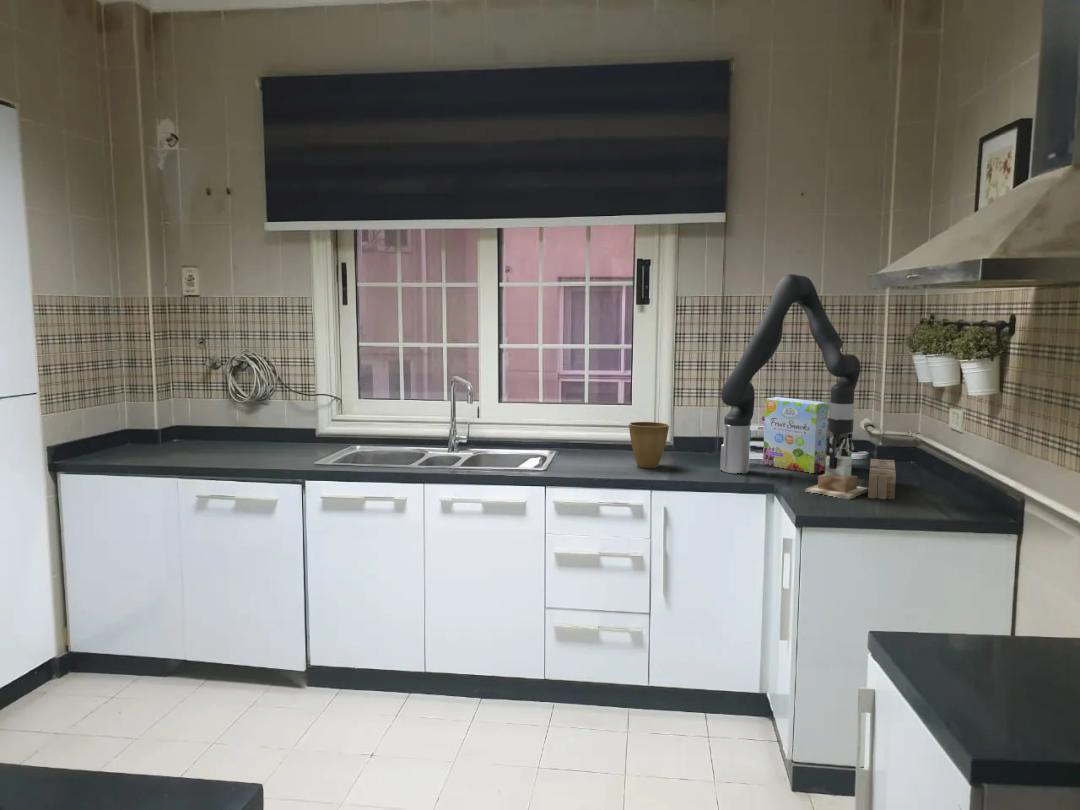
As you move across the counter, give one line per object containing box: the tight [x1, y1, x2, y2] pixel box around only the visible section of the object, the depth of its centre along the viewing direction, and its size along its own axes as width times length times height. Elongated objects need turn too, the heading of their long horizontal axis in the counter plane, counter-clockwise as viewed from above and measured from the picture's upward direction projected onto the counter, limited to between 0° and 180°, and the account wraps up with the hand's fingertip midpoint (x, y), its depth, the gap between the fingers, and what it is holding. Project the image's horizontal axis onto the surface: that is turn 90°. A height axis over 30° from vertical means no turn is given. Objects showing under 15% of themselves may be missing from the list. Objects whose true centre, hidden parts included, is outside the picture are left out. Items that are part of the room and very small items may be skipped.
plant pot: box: [628, 421, 670, 469], centre depth 292 cm, size 15×15×16 cm
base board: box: [804, 473, 869, 500], centre depth 253 cm, size 14×16×5 cm
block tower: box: [867, 458, 897, 500], centre depth 257 cm, size 8×8×29 cm
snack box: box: [762, 396, 829, 474], centre depth 290 cm, size 22×9×26 cm, turn 42°
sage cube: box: [824, 455, 853, 478], centre depth 252 cm, size 6×6×6 cm
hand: (838, 467), depth 252 cm, fingers open, 8 cm apart
